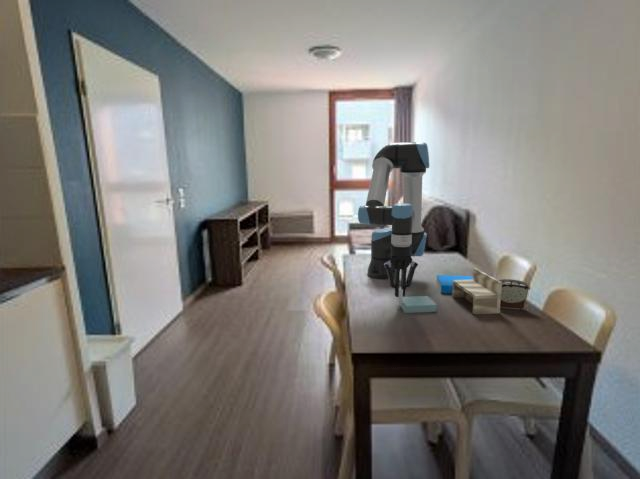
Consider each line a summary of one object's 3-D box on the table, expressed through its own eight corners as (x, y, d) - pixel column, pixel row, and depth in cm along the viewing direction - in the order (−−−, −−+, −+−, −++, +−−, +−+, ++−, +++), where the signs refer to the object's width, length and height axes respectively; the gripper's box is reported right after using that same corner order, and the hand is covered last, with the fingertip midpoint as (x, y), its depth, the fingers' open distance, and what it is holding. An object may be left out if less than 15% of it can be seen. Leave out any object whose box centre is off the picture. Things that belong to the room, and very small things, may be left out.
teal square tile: (397, 304, 154) (398, 297, 153) (427, 303, 155) (427, 296, 154) (405, 313, 144) (405, 306, 143) (436, 312, 145) (436, 304, 144)
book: (436, 274, 181) (492, 275, 176) (435, 283, 181) (491, 284, 177) (441, 285, 164) (503, 287, 160) (440, 295, 165) (502, 297, 161)
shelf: (452, 296, 161) (453, 269, 158) (474, 295, 161) (476, 268, 159) (474, 314, 141) (476, 283, 139) (499, 313, 142) (502, 282, 140)
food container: (525, 304, 150) (527, 280, 148) (528, 310, 145) (530, 284, 143) (491, 301, 154) (493, 277, 152) (492, 306, 149) (494, 282, 147)
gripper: (386, 247, 140) (385, 308, 144) (421, 246, 141) (419, 307, 145) (381, 243, 147) (380, 301, 152) (415, 242, 148) (412, 300, 153)
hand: (399, 304), depth 149 cm, fingers closed
